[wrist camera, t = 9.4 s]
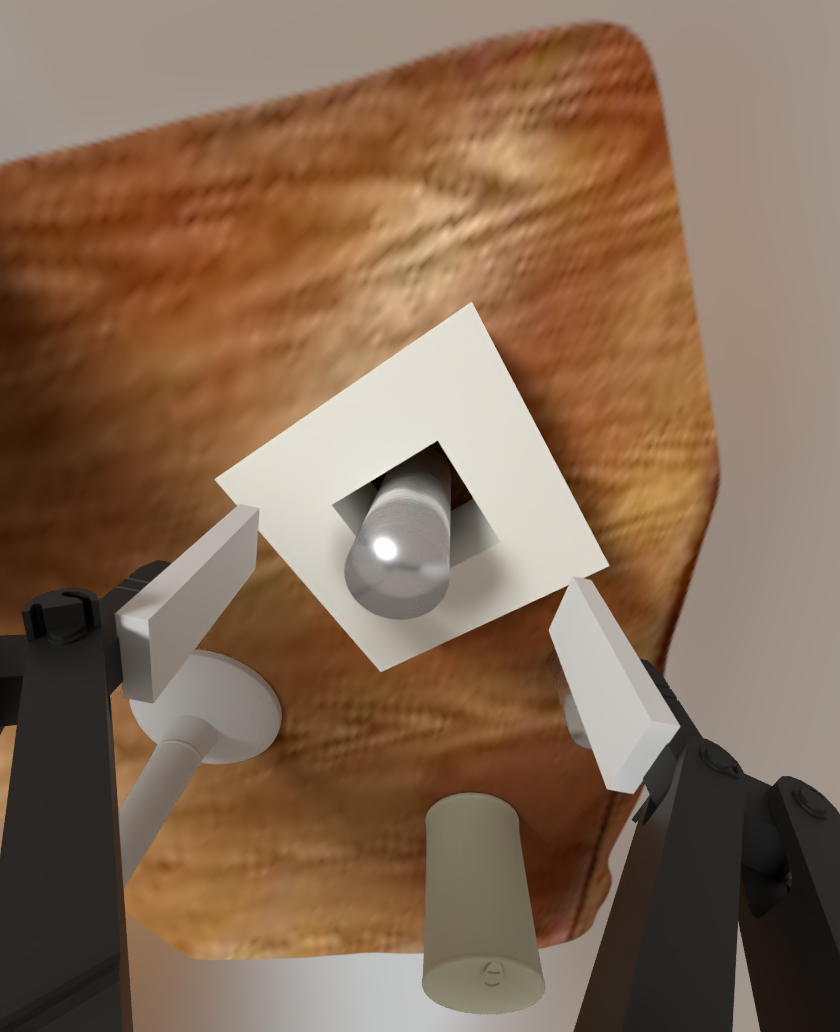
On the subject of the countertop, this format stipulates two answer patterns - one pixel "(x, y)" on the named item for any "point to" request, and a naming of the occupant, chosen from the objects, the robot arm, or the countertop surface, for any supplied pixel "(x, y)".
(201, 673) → the candlestick
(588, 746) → the short pin
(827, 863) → the robot arm
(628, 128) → the countertop surface
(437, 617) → the hole block
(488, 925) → the can
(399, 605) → the long pin
